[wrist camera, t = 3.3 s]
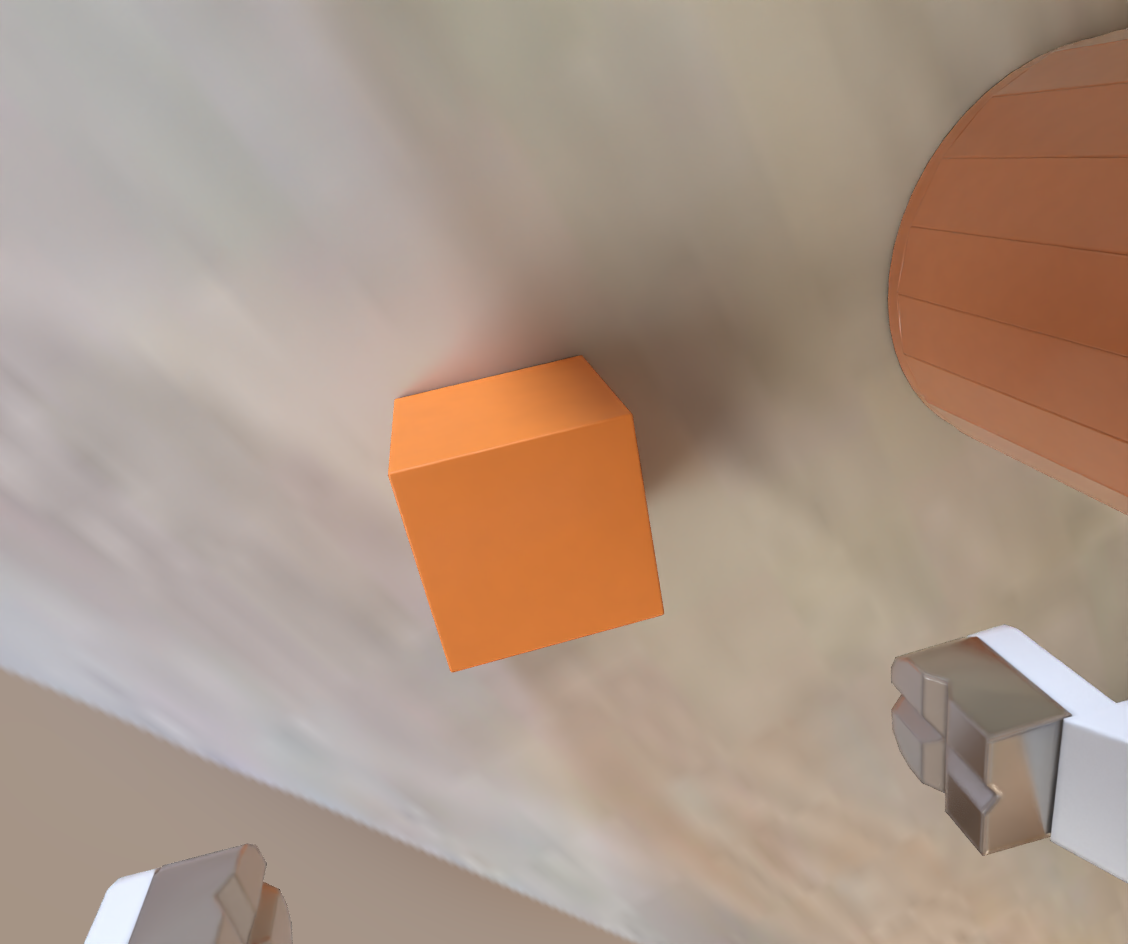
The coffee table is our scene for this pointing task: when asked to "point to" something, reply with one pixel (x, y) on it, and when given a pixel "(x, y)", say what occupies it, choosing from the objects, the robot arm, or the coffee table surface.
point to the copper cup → (1027, 270)
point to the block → (524, 510)
